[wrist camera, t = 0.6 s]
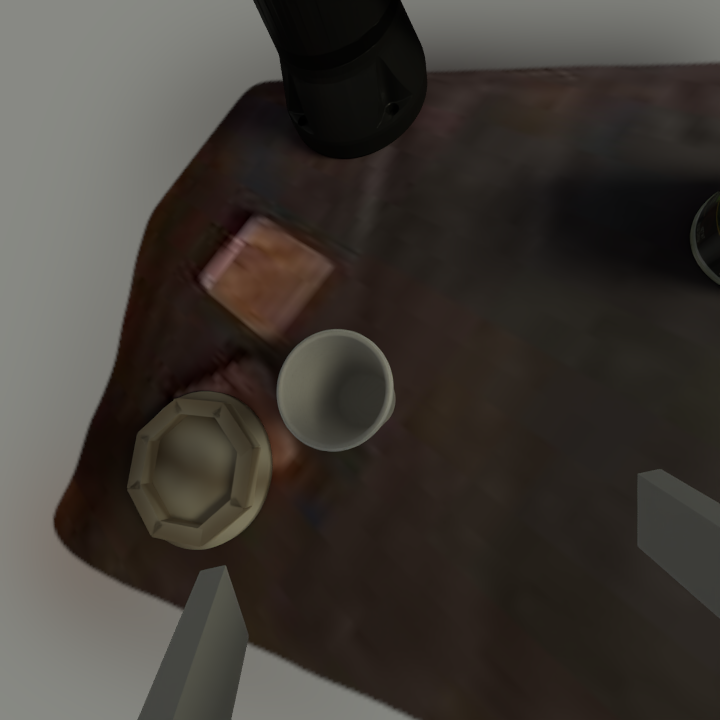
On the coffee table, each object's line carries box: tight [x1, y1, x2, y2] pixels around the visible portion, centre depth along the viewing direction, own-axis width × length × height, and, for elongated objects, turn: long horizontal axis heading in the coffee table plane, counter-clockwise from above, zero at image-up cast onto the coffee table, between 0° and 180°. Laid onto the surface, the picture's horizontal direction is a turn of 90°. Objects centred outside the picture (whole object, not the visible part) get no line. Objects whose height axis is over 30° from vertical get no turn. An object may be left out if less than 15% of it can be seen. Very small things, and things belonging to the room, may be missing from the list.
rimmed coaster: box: [127, 391, 273, 550], centre depth 36 cm, size 15×15×2 cm
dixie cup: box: [277, 329, 395, 451], centre depth 30 cm, size 8×8×10 cm
